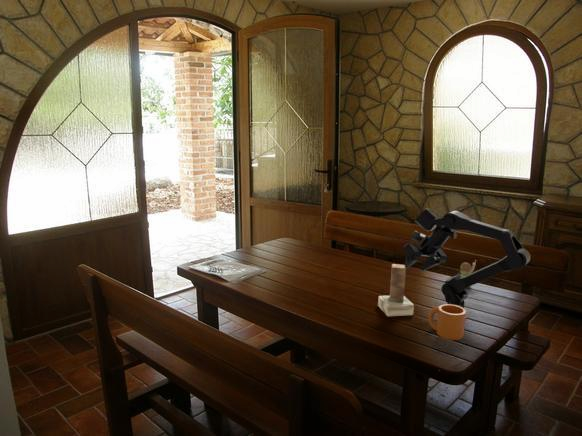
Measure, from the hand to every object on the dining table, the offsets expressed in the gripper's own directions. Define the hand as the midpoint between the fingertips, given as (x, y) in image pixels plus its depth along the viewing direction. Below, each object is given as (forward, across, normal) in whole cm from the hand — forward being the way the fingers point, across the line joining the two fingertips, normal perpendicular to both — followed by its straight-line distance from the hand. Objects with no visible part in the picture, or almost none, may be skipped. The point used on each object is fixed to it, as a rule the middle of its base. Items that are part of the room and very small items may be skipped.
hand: (413, 269), depth 183 cm
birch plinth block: (+13, +6, +9) cm, 17 cm away
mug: (+2, +3, +29) cm, 29 cm away
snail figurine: (+7, -40, -2) cm, 41 cm away
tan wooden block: (+10, +7, +8) cm, 14 cm away
